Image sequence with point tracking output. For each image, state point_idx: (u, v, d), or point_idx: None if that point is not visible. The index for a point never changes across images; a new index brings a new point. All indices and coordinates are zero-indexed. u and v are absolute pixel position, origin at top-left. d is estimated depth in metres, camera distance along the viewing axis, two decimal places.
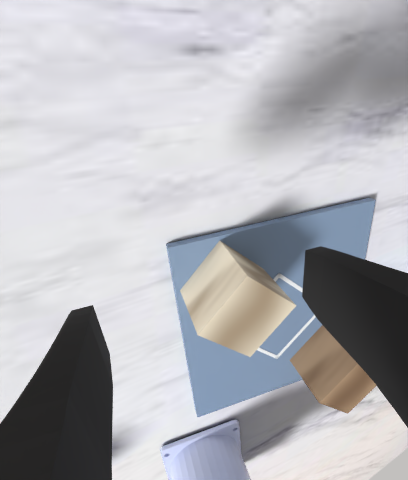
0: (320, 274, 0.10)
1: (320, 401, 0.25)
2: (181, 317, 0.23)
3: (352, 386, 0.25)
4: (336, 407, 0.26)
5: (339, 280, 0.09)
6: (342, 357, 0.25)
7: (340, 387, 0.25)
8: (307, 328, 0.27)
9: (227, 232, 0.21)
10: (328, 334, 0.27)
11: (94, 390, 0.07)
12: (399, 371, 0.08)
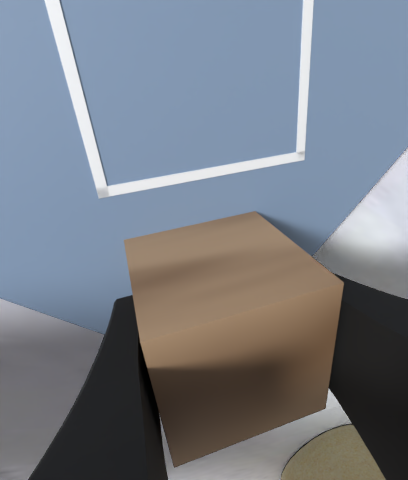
0: None
1: (148, 340, 0.06)
2: None
3: (263, 367, 0.07)
4: (168, 416, 0.07)
5: None
6: (289, 261, 0.08)
7: (239, 338, 0.07)
8: (227, 182, 0.10)
9: None
10: (265, 223, 0.10)
11: (147, 373, 0.08)
12: (356, 387, 0.07)
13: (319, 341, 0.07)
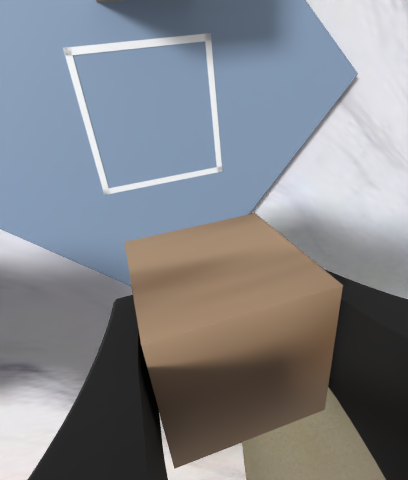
0: None
1: (149, 343, 0.06)
2: None
3: (263, 369, 0.07)
4: (168, 418, 0.07)
5: None
6: (288, 263, 0.08)
7: (239, 340, 0.07)
8: (176, 185, 0.17)
9: None
10: (264, 226, 0.10)
11: (147, 373, 0.08)
12: (356, 387, 0.07)
13: (318, 343, 0.07)
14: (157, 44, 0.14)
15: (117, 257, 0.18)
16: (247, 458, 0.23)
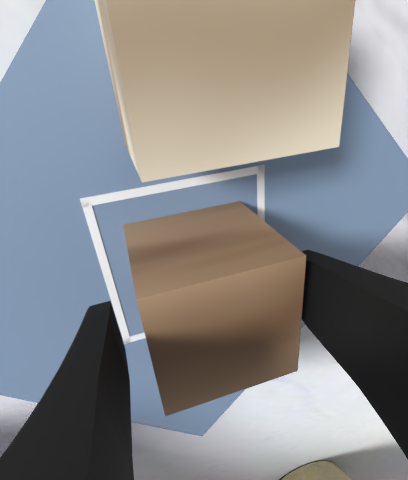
0: (306, 278, 0.10)
1: (142, 298, 0.07)
2: (29, 40, 0.08)
3: (240, 328, 0.09)
4: (159, 367, 0.08)
5: (324, 284, 0.09)
6: (263, 240, 0.09)
7: (219, 300, 0.08)
8: None
9: None
10: (247, 211, 0.11)
11: (116, 383, 0.07)
12: (382, 377, 0.08)
13: (288, 307, 0.09)
14: (199, 182, 0.11)
15: (136, 401, 0.15)
16: None
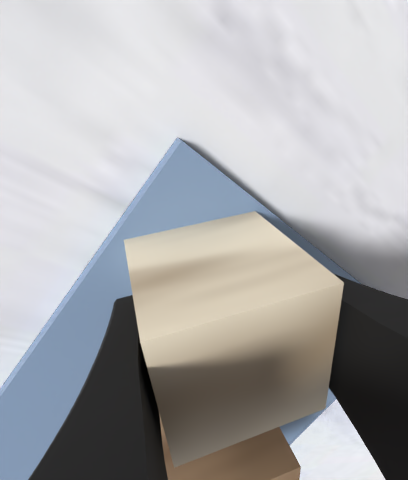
0: None
1: None
2: (76, 294, 0.10)
3: None
4: None
5: None
6: (265, 436, 0.11)
7: None
8: None
9: (270, 211, 0.11)
10: None
11: (147, 373, 0.08)
12: (356, 387, 0.07)
13: None
14: None
15: None
16: None
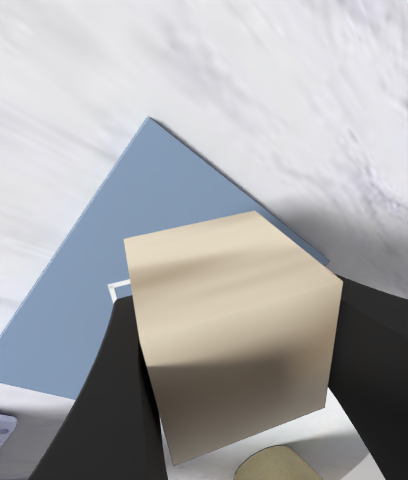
0: None
1: None
2: (85, 215, 0.16)
3: None
4: None
5: None
6: None
7: None
8: None
9: None
10: None
11: (147, 373, 0.08)
12: (356, 387, 0.07)
13: None
14: None
15: None
16: None
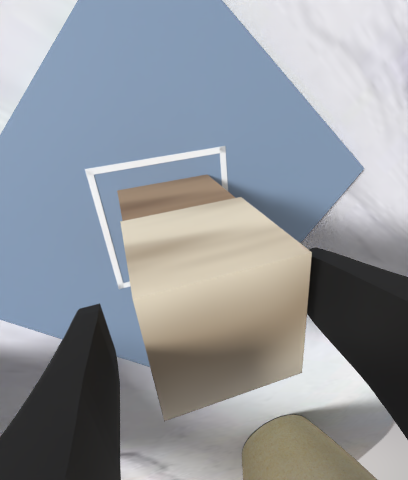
0: (314, 276, 0.10)
1: None
2: (50, 54, 0.12)
3: None
4: None
5: (333, 282, 0.09)
6: (217, 196, 0.13)
7: None
8: None
9: None
10: (210, 180, 0.15)
11: (103, 387, 0.07)
12: (392, 374, 0.08)
13: None
14: (174, 159, 0.15)
15: (129, 340, 0.19)
16: None
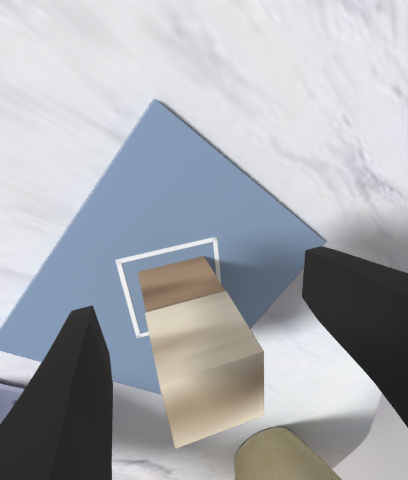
0: (320, 274, 0.10)
1: None
2: (95, 192, 0.17)
3: None
4: None
5: (339, 280, 0.09)
6: (210, 284, 0.18)
7: None
8: None
9: None
10: (206, 264, 0.20)
11: (94, 390, 0.07)
12: (399, 371, 0.08)
13: None
14: (179, 247, 0.20)
15: (143, 374, 0.24)
16: None
